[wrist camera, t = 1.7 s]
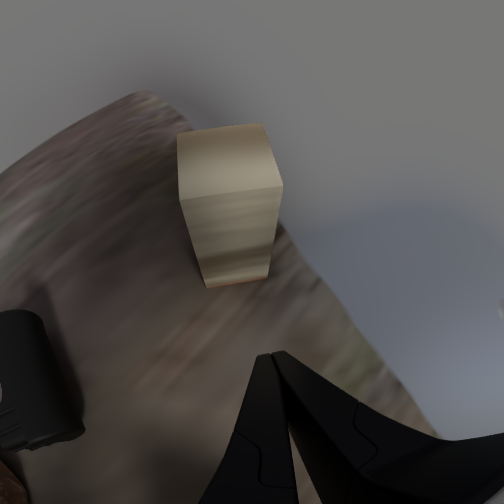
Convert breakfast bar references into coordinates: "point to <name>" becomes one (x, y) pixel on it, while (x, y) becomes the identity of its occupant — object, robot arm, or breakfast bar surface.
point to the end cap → (32, 387)
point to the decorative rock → (11, 487)
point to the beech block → (229, 200)
